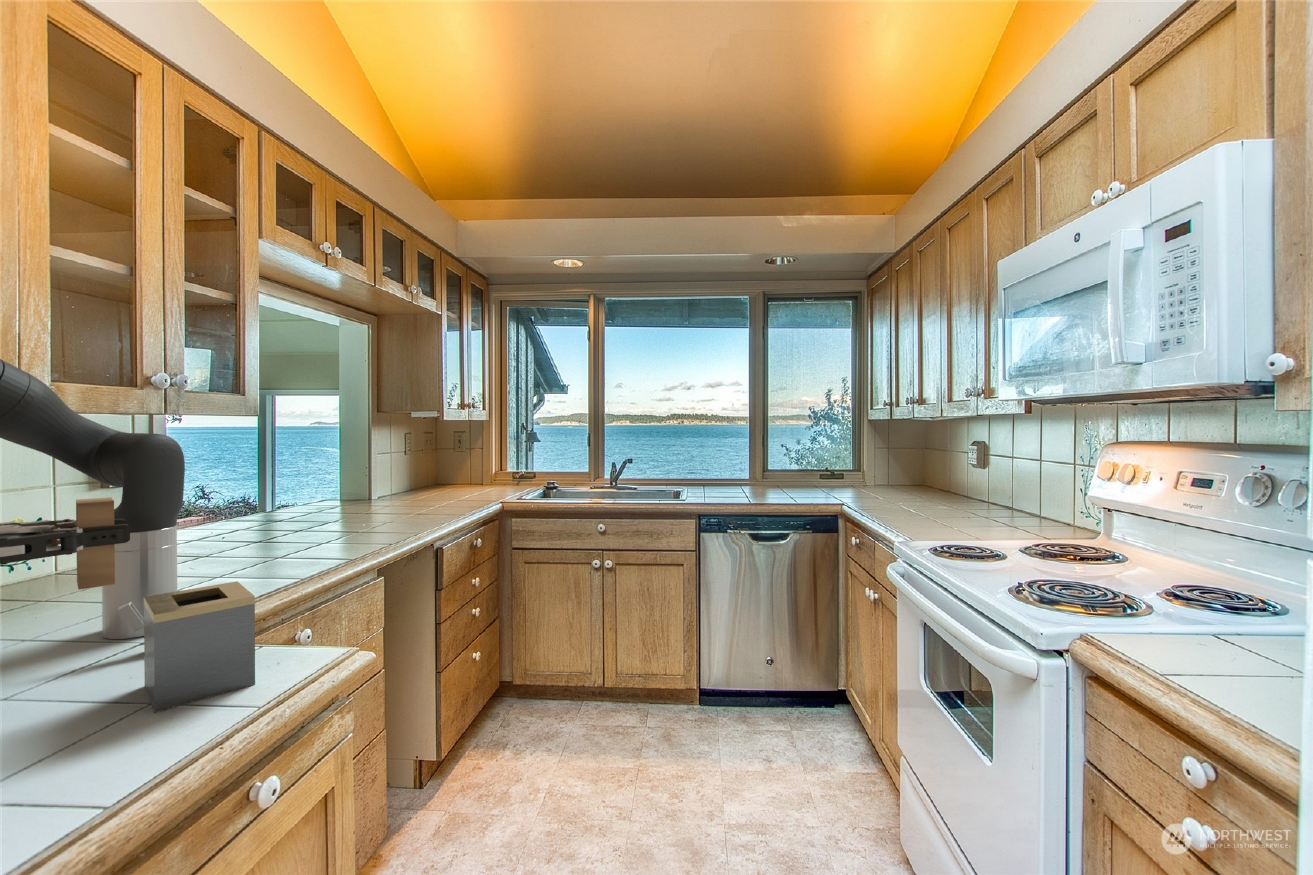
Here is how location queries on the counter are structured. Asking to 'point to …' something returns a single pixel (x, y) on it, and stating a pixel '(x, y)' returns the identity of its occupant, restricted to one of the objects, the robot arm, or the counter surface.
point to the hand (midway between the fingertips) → (126, 530)
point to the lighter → (132, 616)
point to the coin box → (198, 644)
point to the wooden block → (96, 560)
